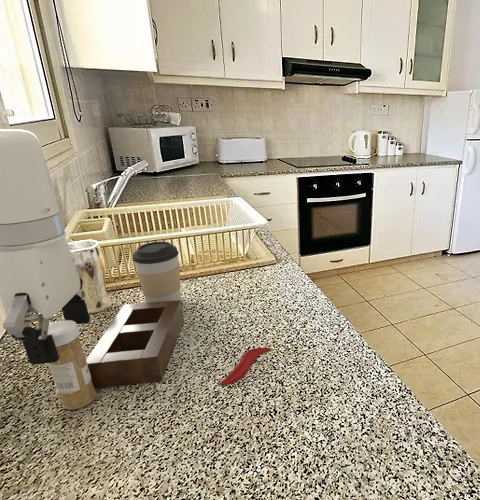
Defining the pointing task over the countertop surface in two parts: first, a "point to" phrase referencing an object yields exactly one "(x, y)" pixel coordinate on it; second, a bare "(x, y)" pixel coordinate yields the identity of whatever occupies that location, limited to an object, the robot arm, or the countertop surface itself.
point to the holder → (136, 344)
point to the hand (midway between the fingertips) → (63, 341)
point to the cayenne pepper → (243, 365)
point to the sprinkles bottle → (70, 366)
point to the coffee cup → (158, 271)
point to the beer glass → (91, 274)
